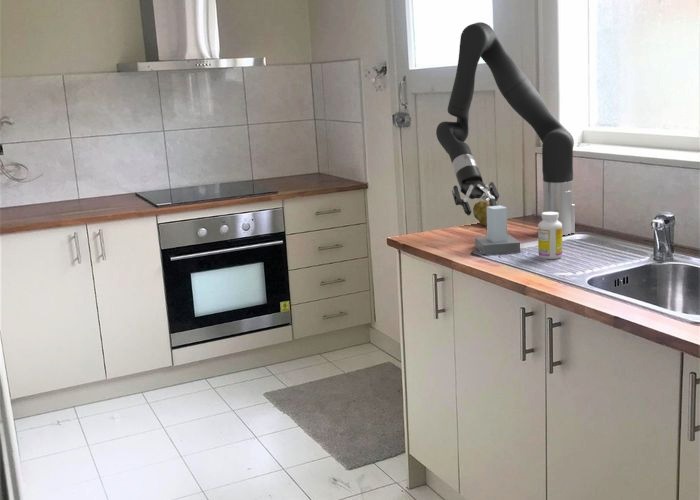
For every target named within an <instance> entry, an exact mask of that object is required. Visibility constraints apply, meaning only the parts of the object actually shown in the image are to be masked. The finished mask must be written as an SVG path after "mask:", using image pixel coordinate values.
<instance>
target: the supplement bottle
mask: <svg viewBox="0 0 700 500" xmlns="http://www.w3.org/2000/svg"><path fill="white" fill-rule="evenodd" d="M558 217H559V213H557V212H543V211H542V212H541V221H540V222H539V223H538V225H537V227H538V228H537V233H538V234H537V237H538V238H537V242H538V247H537V248H538V249H537V250H538V251H537V252H538V257H539V258H541V259H544V260H558V259H561V257H563V236H562V223H561V222H559V221H558Z"/></svg>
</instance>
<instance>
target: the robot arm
mask: <svg viewBox="0 0 700 500" xmlns="http://www.w3.org/2000/svg"><path fill="white" fill-rule="evenodd" d="M460 34H461V35H460V39H459V40H460V41H459V50H458V51H459V52H458V60H457V67H456V74H455V78H454V82H453V85H452V90H451V94H450V96H449V101H448V105H447V113H448V114H449V115H450V116H453V117H456V121H442V122H440V123H439V124H438V125H437V127H436V131H435V132H436V133H435V135H436V137H437V141H438V143H439V144H440V145H441V147H442V148H443V149H444V151H445V152H446V154H447V155H448V156H449V158H450V161H451V164H452V168H453V172H454V174H455V175H454V176H455V177H456V180H457V183H458V185H454V186H453V187H452V189H451V193H452V197H453V201H454V204H455V205H456V206H459V205H460V206H461V207H462V209H463V211H464V214H465V215H466V216H471V214H472V209H471V206H470V204H469V202H468V200H469V199H470V200H474V199H482V201H488V202H489V205H490V206H498V205H497V202H498V200H499V198H500V194H499V191H498V189H497V187H496V185H495V183H494V181H490V182H489V183H487V184H486V183H485V182H484V180H483V177H482V174H481V172H480V169H479V167H478V164H477V162H476V160H475V158H474V156H473V153H472V151H471V147H470V146H469V144H467V143H466V142H465V141H466V140H467V139H468V137H469V130H470V129H469V115H470V114H469V113H470V109H471V104H472V101H473V96H474V91H475V81H476V79H475V78H476V73H477V68H478V65H479V62H480V59H482V60H483V62H484V63H485V64H486V65H487V67H488V68H489V70H490V72H491V74H492V76H493V78H494V79H493V80H494V81H495V84H496V86H497V89H498V90H499V92H500V93H501V95H502V96H503V99H505V101H506V102H507V103H508V104H509V106H510V107H511V108H512V109H513V110H514V111H515V112H516V113H517V115H518V116H520V117H521V118H522V119H523V120H524V121H525V122H527V123H528V125H530V126H531V128H532V129H533V130H534V132H535V134H537V136H538V138H539V140H540V141H541V145H542V146H541V154H542V155H541V157H542V158H541V159H542V160H541V161H542V164H541V165H542V167H541V168H542V213H543V212H557V213H559V217H558V221H559V222H561V223H562V237H564V236H563V235H565V236H569V235H568V234H570V235H572V234H571V233H575V231H576V230H575V229H576V228H575V223H576V222H575V221H576V220H575V218H576V205H575V204H574V203H573V202H574V201H573V200H574V194H573V193H574V191H573V190H574V166H573V165H574V163H573V162H574V160H573V159H574V154H573V153H574V152H573V151H574V145H575V142H574V141H575V140H574V137H573V135H572V134H571V133H570V132H569V131H568V130H567V129H566V128H565V127H564V126H563V124H561V122H560V121H559V120H558V119H557V118H556V117H555V116H554V115H553V114H552V112H551V111H550V109H549V108H548V105H546V103H545V101H544V99H543V97H542V96H541V95H540V94H539V92H538V90H537V89H536V87H535V86H534V84H533V83H532V82H531V81H530V79H529V77H528V76H527V75H526V74H525V73H524V71H522V69H521V68H520V66H518V64H517V63H516V62H515V61H514V59H513V58H512V57H510V55H509V53H508V52H507V51H506V49H505V48H504V46H503V44H502V43H501V41H500V39H499V38H498V35H496V33H495V31H494V29H493V28H492V27H491V25H488V23H485V22H480V21H479V22H478V21H477V22H474V23H472V24H469V25H467V26H466V27H465V28H464V29H463V30H462V32H461V33H460ZM460 193H462V194H463V195H464V198H463V199H462V198H461V195H460Z"/></svg>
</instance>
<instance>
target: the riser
mask: <svg viewBox="0 0 700 500" xmlns="http://www.w3.org/2000/svg"><path fill="white" fill-rule="evenodd" d="M474 248H476V250H478V251H479V250H480V251H481V252H482V253H483V254H493V255H503V254H516V253H518V254H519V253H521V242H520V241H519V240H518V239H517V238H515V237H513V236H512V235H511V234H507V241H499V242H492V241H490V240H488V239H487V235H486V236H474ZM480 251H479V252H480ZM481 252H480V253H481ZM482 253H481V254H482ZM483 254H482V255H483Z"/></svg>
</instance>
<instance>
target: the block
mask: <svg viewBox="0 0 700 500" xmlns="http://www.w3.org/2000/svg"><path fill="white" fill-rule="evenodd" d="M507 235H508V207H506V206H504V205H500V204H499V205H497V206H489V207H487V226H486V236H487V239H488V240H490V241H492V242H499V241H507Z"/></svg>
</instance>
